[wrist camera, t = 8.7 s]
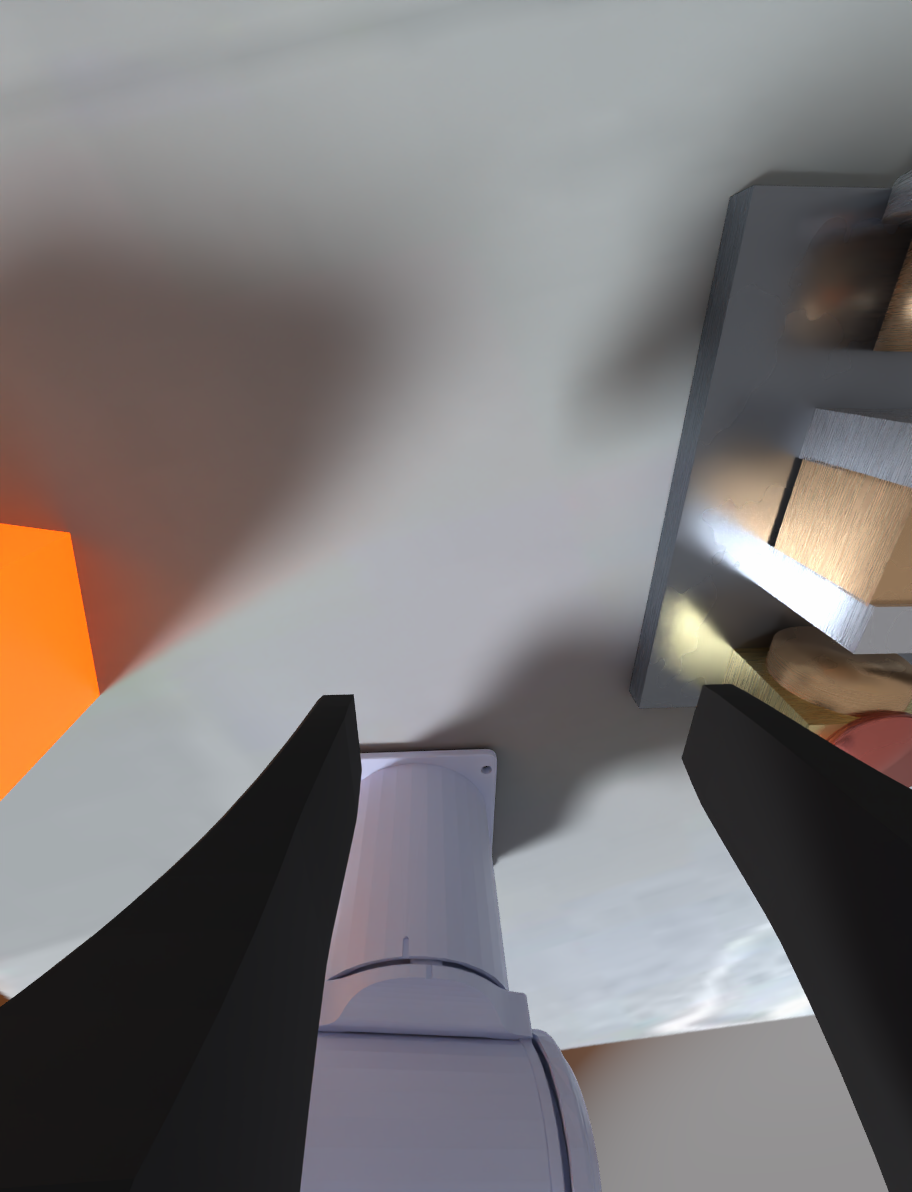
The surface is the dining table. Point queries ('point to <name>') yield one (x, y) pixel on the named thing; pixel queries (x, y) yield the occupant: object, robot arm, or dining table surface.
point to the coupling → (850, 531)
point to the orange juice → (39, 647)
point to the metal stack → (781, 460)
